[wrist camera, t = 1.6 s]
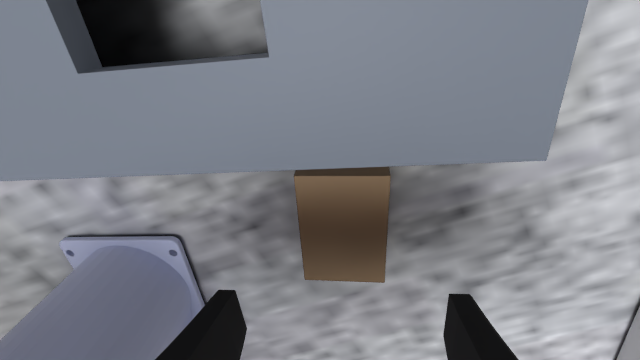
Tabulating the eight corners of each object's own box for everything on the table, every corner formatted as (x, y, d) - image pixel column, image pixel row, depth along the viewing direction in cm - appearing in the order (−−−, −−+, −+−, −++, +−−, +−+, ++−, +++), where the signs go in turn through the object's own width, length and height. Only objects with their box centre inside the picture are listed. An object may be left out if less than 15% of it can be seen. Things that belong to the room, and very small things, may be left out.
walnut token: (380, 243, 19) (384, 282, 16) (312, 241, 19) (304, 279, 17) (384, 147, 16) (390, 176, 13) (304, 147, 16) (293, 176, 14)
